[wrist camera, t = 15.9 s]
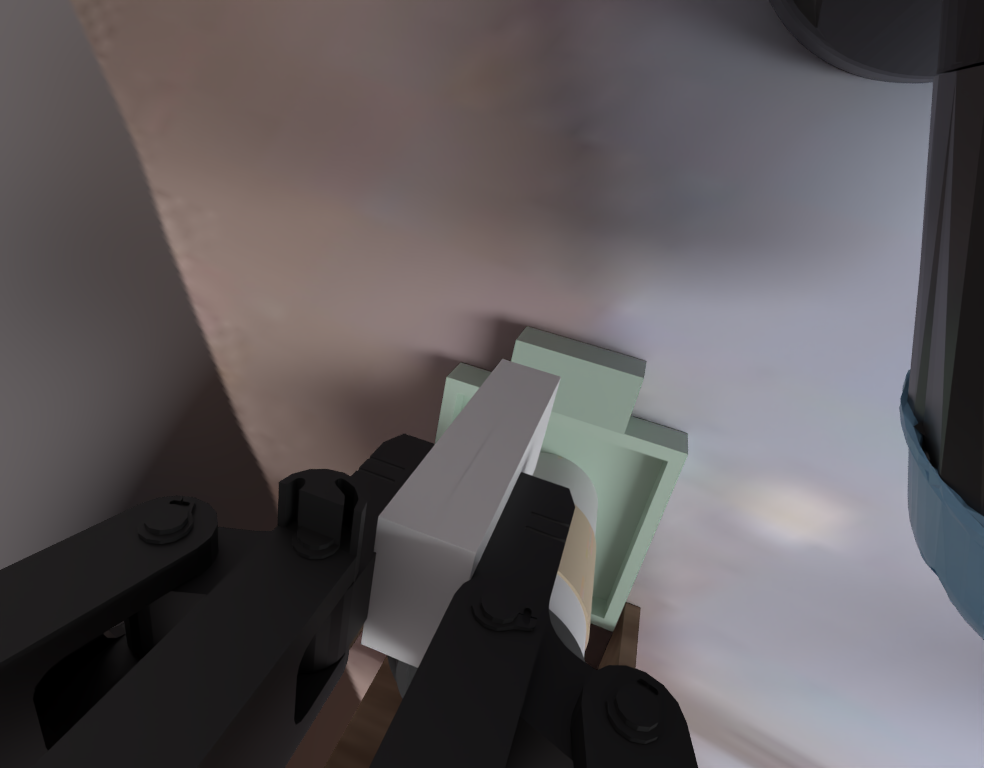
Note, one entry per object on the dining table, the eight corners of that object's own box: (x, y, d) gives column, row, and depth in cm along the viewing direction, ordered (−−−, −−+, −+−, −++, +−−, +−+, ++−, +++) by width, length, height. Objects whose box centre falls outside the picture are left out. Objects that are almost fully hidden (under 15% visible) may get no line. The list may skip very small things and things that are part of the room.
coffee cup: (450, 467, 37) (326, 648, 24) (567, 412, 33) (493, 593, 20) (524, 572, 39) (444, 794, 26) (643, 531, 35) (621, 771, 22)
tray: (470, 309, 33) (456, 321, 31) (709, 380, 31) (712, 398, 29) (428, 534, 41) (414, 556, 39) (616, 604, 39) (612, 633, 37)
